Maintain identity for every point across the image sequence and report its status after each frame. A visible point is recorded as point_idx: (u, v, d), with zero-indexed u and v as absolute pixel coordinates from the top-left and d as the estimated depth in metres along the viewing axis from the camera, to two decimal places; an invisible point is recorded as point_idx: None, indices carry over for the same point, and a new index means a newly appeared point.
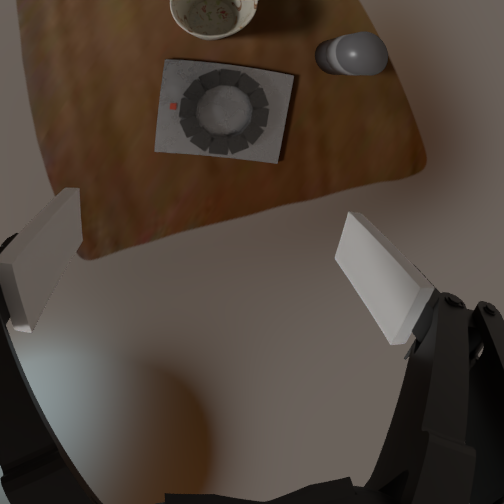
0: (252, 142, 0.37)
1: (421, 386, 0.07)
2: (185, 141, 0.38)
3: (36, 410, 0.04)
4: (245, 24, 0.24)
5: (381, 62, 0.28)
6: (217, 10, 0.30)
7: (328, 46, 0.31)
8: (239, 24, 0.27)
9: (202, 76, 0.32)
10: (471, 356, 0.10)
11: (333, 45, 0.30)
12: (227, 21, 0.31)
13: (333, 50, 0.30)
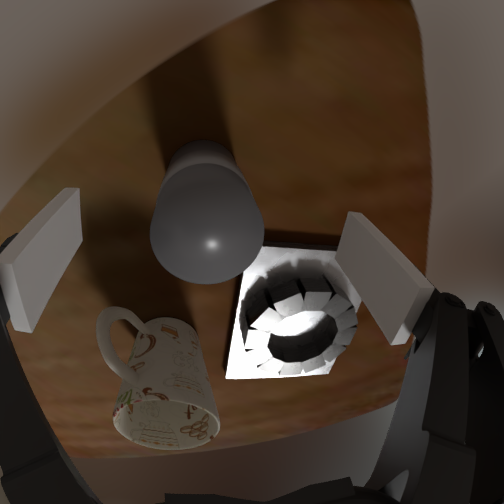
0: (348, 305, 0.27)
1: (422, 386, 0.07)
2: None
3: (36, 410, 0.04)
4: (197, 407, 0.20)
5: (223, 198, 0.13)
6: None
7: None
8: None
9: (254, 363, 0.29)
10: (471, 357, 0.10)
11: None
12: None
13: None
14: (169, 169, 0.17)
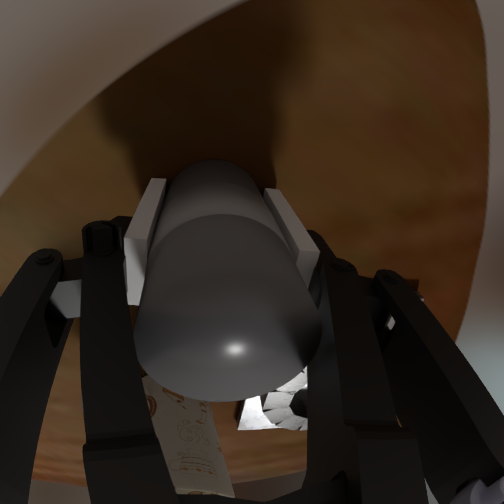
0: None
1: (329, 369, 0.07)
2: None
3: (144, 393, 0.05)
4: (209, 492, 0.14)
5: (259, 297, 0.07)
6: None
7: None
8: None
9: (272, 421, 0.23)
10: (380, 329, 0.11)
11: None
12: None
13: None
14: (165, 213, 0.12)
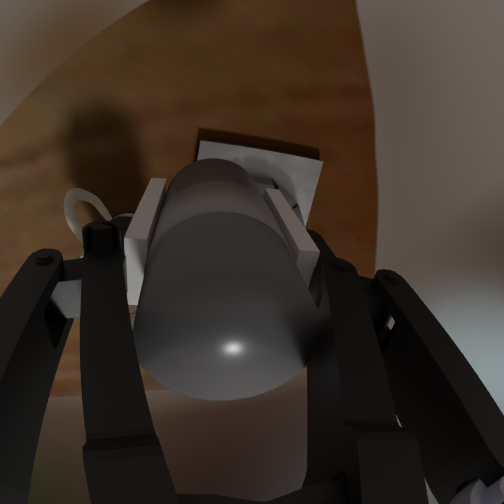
0: (293, 203, 0.30)
1: (329, 369, 0.07)
2: None
3: (144, 393, 0.05)
4: None
5: (258, 294, 0.07)
6: None
7: None
8: None
9: None
10: (380, 330, 0.11)
11: None
12: None
13: None
14: (164, 211, 0.11)
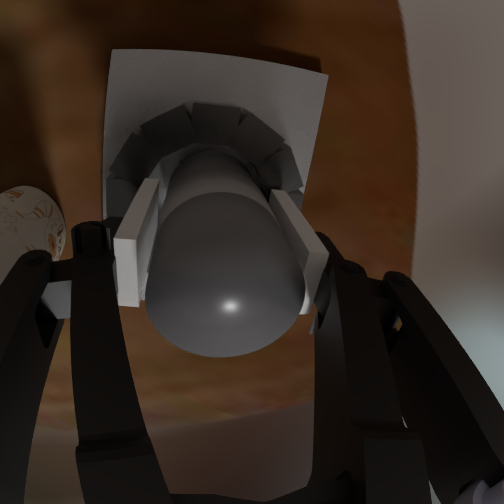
0: (279, 141, 0.15)
1: (337, 370, 0.07)
2: None
3: (135, 393, 0.05)
4: None
5: (251, 254, 0.09)
6: None
7: None
8: None
9: None
10: (388, 331, 0.11)
11: None
12: None
13: None
14: (170, 194, 0.13)
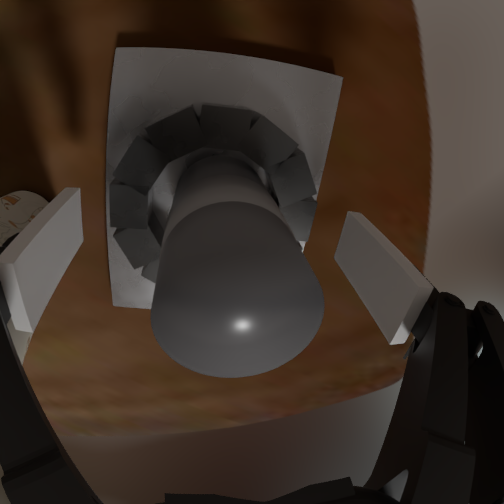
0: (292, 146, 0.15)
1: (421, 385, 0.07)
2: None
3: (37, 410, 0.04)
4: None
5: (268, 272, 0.08)
6: None
7: None
8: None
9: (132, 262, 0.16)
10: (470, 356, 0.10)
11: None
12: None
13: None
14: (177, 202, 0.12)
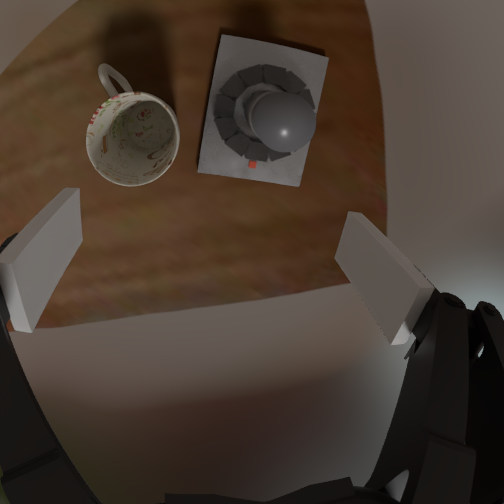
0: (303, 85, 0.30)
1: (421, 386, 0.07)
2: (292, 154, 0.36)
3: (36, 410, 0.04)
4: (161, 102, 0.23)
5: (296, 103, 0.23)
6: (140, 120, 0.32)
7: None
8: None
9: (222, 135, 0.32)
10: (471, 356, 0.10)
11: None
12: (154, 108, 0.32)
13: None
14: (256, 98, 0.28)
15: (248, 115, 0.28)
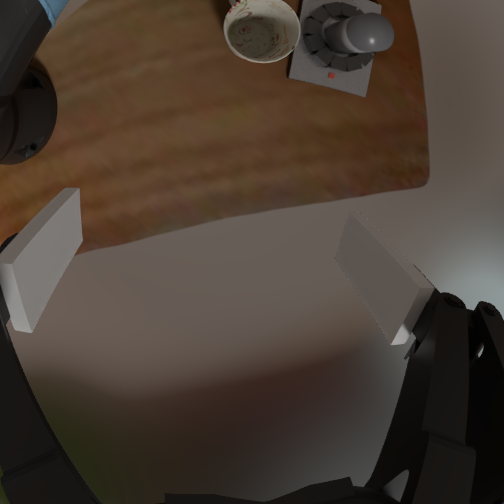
0: None
1: (422, 386, 0.07)
2: (360, 71, 0.39)
3: (36, 410, 0.04)
4: (288, 5, 0.27)
5: (382, 20, 0.27)
6: (241, 34, 0.35)
7: (348, 50, 0.34)
8: (276, 12, 0.29)
9: (313, 48, 0.35)
10: (471, 357, 0.10)
11: (354, 50, 0.32)
12: (253, 26, 0.35)
13: (360, 51, 0.32)
14: (343, 20, 0.31)
15: (339, 30, 0.32)
